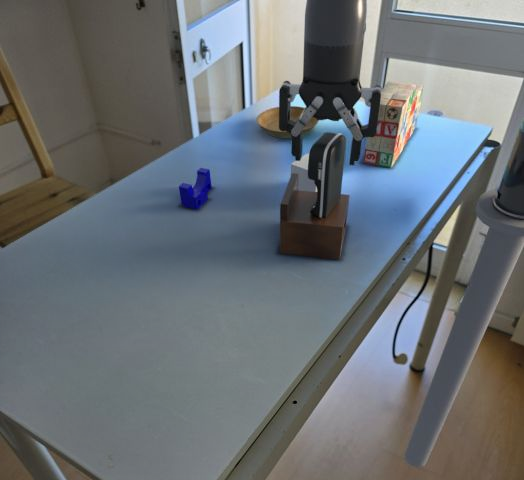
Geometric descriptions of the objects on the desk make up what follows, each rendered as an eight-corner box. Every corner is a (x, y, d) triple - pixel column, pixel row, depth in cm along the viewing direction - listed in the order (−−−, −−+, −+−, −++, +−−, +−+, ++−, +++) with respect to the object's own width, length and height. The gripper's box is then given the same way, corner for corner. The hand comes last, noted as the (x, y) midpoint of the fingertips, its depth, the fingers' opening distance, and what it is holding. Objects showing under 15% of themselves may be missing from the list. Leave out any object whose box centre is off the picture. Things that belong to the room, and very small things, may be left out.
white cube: (290, 193, 93) (290, 163, 89) (308, 181, 96) (309, 152, 92) (315, 203, 90) (316, 172, 86) (332, 190, 93) (335, 160, 89)
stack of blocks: (389, 124, 113) (399, 67, 104) (415, 128, 111) (427, 70, 102) (362, 163, 100) (370, 101, 91) (391, 168, 98) (402, 106, 89)
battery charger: (320, 195, 80) (324, 126, 72) (341, 200, 79) (348, 130, 70) (303, 215, 76) (305, 144, 68) (325, 221, 75) (330, 149, 66)
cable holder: (197, 209, 90) (194, 190, 87) (181, 205, 91) (178, 186, 88) (218, 190, 95) (216, 170, 92) (203, 186, 96) (200, 167, 93)
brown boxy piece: (346, 226, 85) (351, 177, 78) (339, 259, 78) (345, 210, 71) (291, 221, 86) (291, 173, 79) (280, 253, 80) (279, 203, 73)
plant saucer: (290, 148, 106) (290, 137, 104) (244, 131, 113) (243, 119, 111) (331, 127, 113) (332, 116, 111) (285, 112, 120) (285, 101, 118)
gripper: (272, 41, 58) (273, 168, 70) (390, 45, 56) (371, 176, 68) (284, 25, 63) (283, 146, 75) (393, 27, 61) (374, 153, 73)
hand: (325, 160), depth 71 cm, fingers open, 7 cm apart
